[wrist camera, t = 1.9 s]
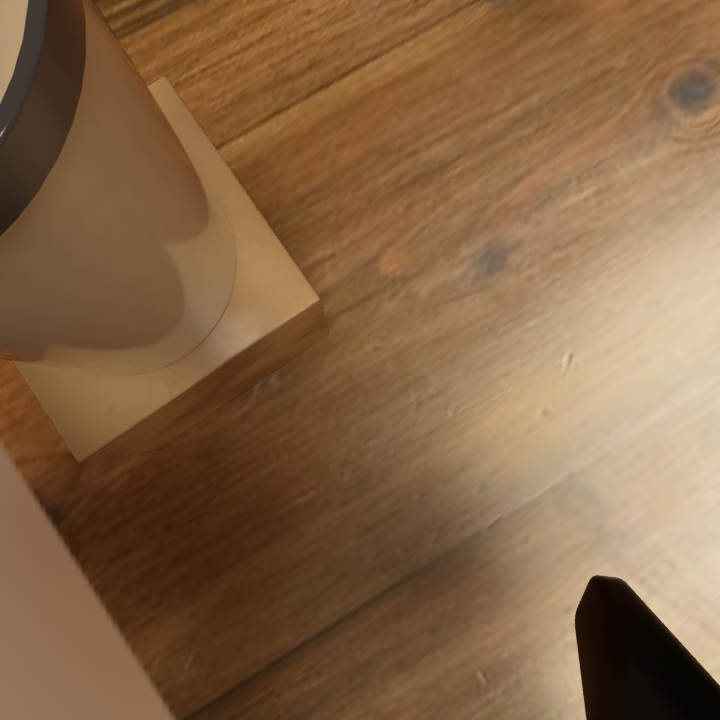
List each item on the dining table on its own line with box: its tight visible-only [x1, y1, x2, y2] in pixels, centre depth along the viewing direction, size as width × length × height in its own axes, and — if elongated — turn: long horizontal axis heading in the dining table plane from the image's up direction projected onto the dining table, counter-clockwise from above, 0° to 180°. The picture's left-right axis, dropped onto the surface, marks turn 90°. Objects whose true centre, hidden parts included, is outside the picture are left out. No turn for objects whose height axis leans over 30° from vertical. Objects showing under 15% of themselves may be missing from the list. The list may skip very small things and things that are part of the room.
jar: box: [0, 0, 236, 377], centre depth 12 cm, size 7×7×11 cm
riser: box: [13, 76, 329, 462], centre depth 21 cm, size 8×8×7 cm
